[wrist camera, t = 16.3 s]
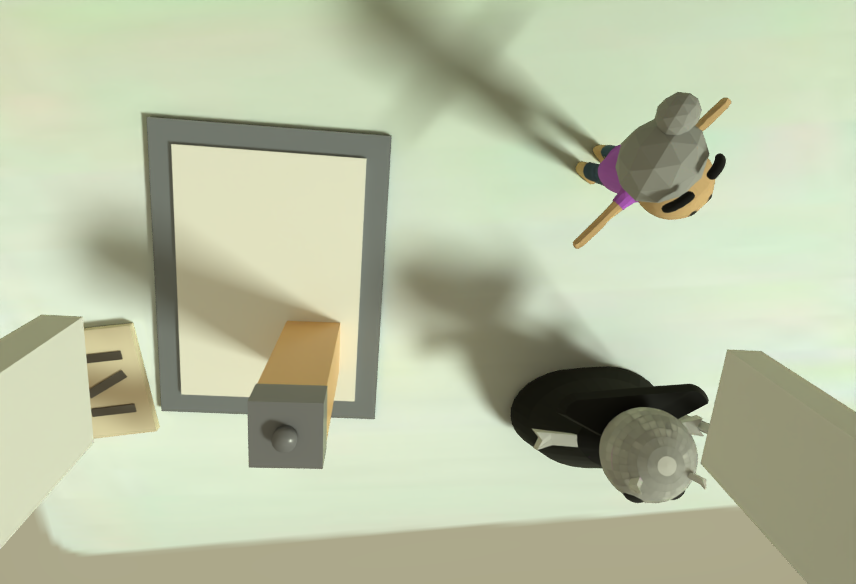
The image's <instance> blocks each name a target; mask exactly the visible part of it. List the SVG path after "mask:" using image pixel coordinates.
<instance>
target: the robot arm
mask: <svg viewBox="0 0 856 584" xmlns="http://www.w3.org/2000/svg"><path fill="white" fill-rule="evenodd" d="M93 443H94V439H93V428H92V416H91V405H90V393H89V382H88V371H87V359H86V348H85V336H84V325H83V317H77V316H58V315H40V316H38V317H37V318H35V319H33V320H32V321H30V322H28V323H27V324H25V325H23V326H21V327H20V328H18V329H16V330H15V331H13V332H11V333H10V334H8V335H6V336H5V337H3V338H1V339H0V549H1V547H2V546H3V545H4V544H5V543H6V542H7V541H8V540H9V538H10V537H11V536H12V535H13V534H14V533H15V532H16V531H17V529H18V528H19V527H20V526H21V525H22V524H23V523H24V521H25V520H26V519H27V518H28V517H29V516H30V514H31V513H32V512H33V511H34V510H35V509H36V508H37V507H38V506H39V504H40V503H41V502H42V501H43V500H44V499H45V498H46V496H47V495H48V494H49V493H50V492H51V491H52V490H53V488H54V487H55V486H56V485H57V484H58V483H59V482H60V481H61V479H62V478H63V477H64V476H65V475H66V474H67V473H68V471H69V470H70V469H71V468H72V467H73V466H74V465H75V463H76V462H77V461H78V460H79V459H80V458H81V457H82V456H83V454H84V453H85V452H86V451H87V450H88V449H89V448H90V446H91V445H92V444H93ZM701 464H702V465H703V467H704V468H705V469H706V470H707V471H708V472H709V473H710V474H711V476H712V477H713V478H714V479H715V480H716V481H717V482H718V483H719V485H720V486H721V487H722V488H723V489H724V490H725V491H726V492H727V494H728V495H729V496H730V497H731V498H732V499H733V500H734V501H735V503H736V504H737V505H738V506H739V507H740V508H741V509H742V510H743V511H744V513H745V514H746V515H747V516H748V517H749V518H750V519H751V521H752V522H753V523H754V524H755V525H756V526H757V527H758V528H759V529H760V531H761V532H762V533H763V534H764V535H765V536H766V537H767V539H768V540H769V541H770V542H771V543H772V544H773V545H774V546H775V547H776V549H777V550H778V551H779V552H780V553H781V554H782V555H783V556H784V558H785V559H786V560H787V561H788V562H789V563H790V564H791V566H792V567H793V568H794V569H795V570H796V571H797V572H798V573H799V575H800V576H801V577H802V578H803V579H804V580H805V581H806V582H807V584H856V412H855V411H853V410H852V409H850V408H849V407H847V406H846V405H844V404H842V403H841V402H839V401H838V400H836V399H835V398H833V397H832V396H830V395H828V394H827V393H825V392H824V391H822V390H821V389H819V388H818V387H816V386H815V385H813V384H811V383H810V382H808V381H807V380H805V379H804V378H802V377H801V376H799V375H797V374H796V373H794V372H793V371H791V370H790V369H788V368H787V367H785V366H783V365H782V364H780V363H779V362H777V361H776V360H774V359H773V358H771V357H769V356H768V355H766V354H765V353H763V352H762V351H745V350H727V353H726V357H725V361H724V366H723V370H722V374H721V378H720V383H719V387H718V391H717V395H716V400H715V404H714V408H713V412H712V417H711V421H710V425H709V429H708V434H707V438H706V442H705V446H704V451H703V455H702V459H701Z"/></svg>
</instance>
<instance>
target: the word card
mask: <svg viewBox="0 0 856 584" xmlns="http://www.w3.org/2000/svg"><path fill="white" fill-rule="evenodd" d="M84 336H85V348H86V359H87V371H88V382H89V393H90V405H91V416H92V428H93V439H94V438H102V437H111V436H119V435H128V434H136V433H145V432H154V431H157V430H158V428H159V427H160V426H159V422H158V419H157V415H156V411H155V407H154V403H153V399H152V395H151V391H150V387H149V383H148V379H147V375H146V371H145V367H144V363H143V360H142V356H141V352H140V348H139V344H138V340H137V336H136V332H135V328H134V324H133V323H126V324H117V325H108V326H99V327H90V328H84Z"/></svg>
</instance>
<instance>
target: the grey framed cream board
mask: <svg viewBox="0 0 856 584" xmlns="http://www.w3.org/2000/svg"><path fill="white" fill-rule="evenodd" d="M147 133H148V152H149V172H150V192H151V211H152V231H153V251H154V271H155V290H156V310H157V330H158V349H159V369H160V389H161V409H162V411H178V412H204V413H229V414H248V405H247V401H248V399H249V397H250V395H251V393H252V391H253V388H254V386H255V384H257V383H258V381H259V379H260V377H261V375H262V372H263V370H264V368H265V366H266V364H267V362H268V360H269V358H270V356H271V353H272V351H273V349H274V347H275V345H276V343H277V341H278V339H279V336H280V334H281V332H282V330H283V328H284V326H285V324H286V322H287V321H309V322H336V323H340V359H339V375H338V381H337V386H336V392H335V397H334V403H333V408H332V414H331V417H333V418H359V419H375V403H376V387H377V370H378V353H379V337H380V320H381V303H382V287H383V270H384V253H385V236H386V220H387V203H388V186H389V170H390V153H391V136H387V135H374V134H361V133H349V132H336V131H323V130H311V129H298V128H285V127H272V126H260V125H247V124H234V123H221V122H209V121H196V120H183V119H171V118H158V117H147Z"/></svg>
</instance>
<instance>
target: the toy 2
mask: <svg viewBox="0 0 856 584" xmlns="http://www.w3.org/2000/svg"><path fill="white" fill-rule="evenodd" d="M708 401H709V400H708V397H707V395H706V394H705V392H704V391H703V390H702V389H701V388H699V387H698V386H696V385H693V384H681V385H667V386H653V385H652V384H651V383H650V382H649V381H647V380H646V379H644V378H643V377H642V376H640V375H638V374H636V373H633V372H631V371H628V370H624V369H621V368H614V367H587V368H576V369H567V370H559V371H555V372H552V373H548V374H546V375H543V376H541V377H539V378H537V379H535V380H534V381H532V382H531V383H529V384H528V385H526V386H525V387H524V388H523V389H522V390H521V391H520V392H519V394H518V395H517V397H516V398H515V399H514V402H513V405H512V407H511V421H512V425H513V427H514V429H515V431H516V432H517V434H518V435H519V436H520V437H521V438H522V439H523V440H524V441H526V442H527V443H529V444H530V445H531V446H533V448H535V449H536V450H538V451H540V452H541V453H543V454H544V455H546V456H547V457H548V458H550V459H552V460H554V461H557V462H559V463H561V464H565V465H569V466H573V467H582V468H603V471H604V473H605V475H606V476H607V478H608V480H609V481H610V482H611V483H612V485H613V486H614V487H615V488H616V489H617V490H618V491H620V492H621V493H623V495H624V496H625V497H626V498H627V499H628V500H630V501H632V502H635V503H641V502H645V503H660V502H665V501H668V500H675V499H678V498H680V497H681V496H682V495H683V494H684V492H685V489H686V488H688V486H689V485H690V483H691V482H692V480H693V481H695V482H697V483H699V484H701V486H702V487H703V488H704V489H705V490H706V479H704V478H702V477H700V476H698V475H696V474H695V473H696V469H697V463H698V454H697V449H696V445H695V442H694V440H693V438H692V436H691V435H699V436H703V434H702V433H701V432H704V433H706V434H708V429H709V425H710V424H709V423H706V422H704V421H701V420H702V419H703V418H701V417H699V416H697V415H695V416H692V417H691V416H688V415H687V414H689V413H691V412H693V411H694V410H696V409H698V408H700V407H702V406H704V405H706V404H708ZM700 431H701V432H700Z"/></svg>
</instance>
